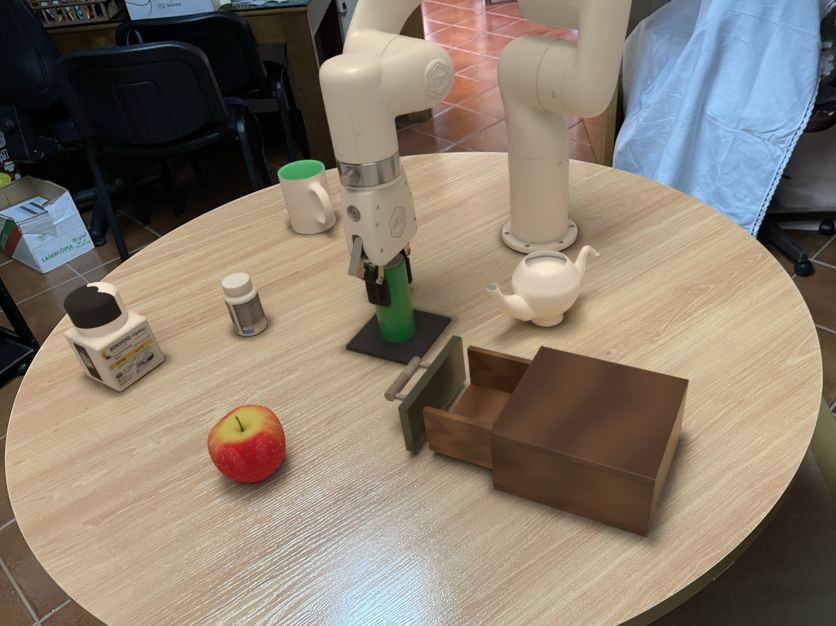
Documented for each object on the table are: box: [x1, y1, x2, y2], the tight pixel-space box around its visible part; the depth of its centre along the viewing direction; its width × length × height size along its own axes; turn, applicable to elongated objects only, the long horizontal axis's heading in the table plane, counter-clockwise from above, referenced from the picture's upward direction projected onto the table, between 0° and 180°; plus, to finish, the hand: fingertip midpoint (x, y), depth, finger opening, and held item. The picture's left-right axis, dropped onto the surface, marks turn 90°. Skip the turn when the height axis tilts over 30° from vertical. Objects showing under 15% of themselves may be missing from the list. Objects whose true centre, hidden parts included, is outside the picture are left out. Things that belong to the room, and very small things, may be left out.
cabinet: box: [489, 345, 690, 538], centre depth 74 cm, size 17×15×9 cm
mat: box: [345, 308, 452, 366], centre depth 98 cm, size 11×11×1 cm
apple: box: [207, 404, 287, 483], centre depth 77 cm, size 8×8×10 cm
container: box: [62, 281, 166, 392], centre depth 93 cm, size 8×8×13 cm
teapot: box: [484, 244, 601, 327], centre depth 96 cm, size 10×20×9 cm, turn 125°
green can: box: [369, 253, 416, 343], centre depth 94 cm, size 5×5×12 cm
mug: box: [277, 159, 337, 235], centre depth 122 cm, size 12×8×10 cm, turn 42°
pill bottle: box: [220, 272, 268, 337], centre depth 100 cm, size 5×5×8 cm
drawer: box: [383, 334, 533, 470], centre depth 80 cm, size 20×14×7 cm
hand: (391, 291), depth 93 cm, fingers closed on green can, 5 cm apart
